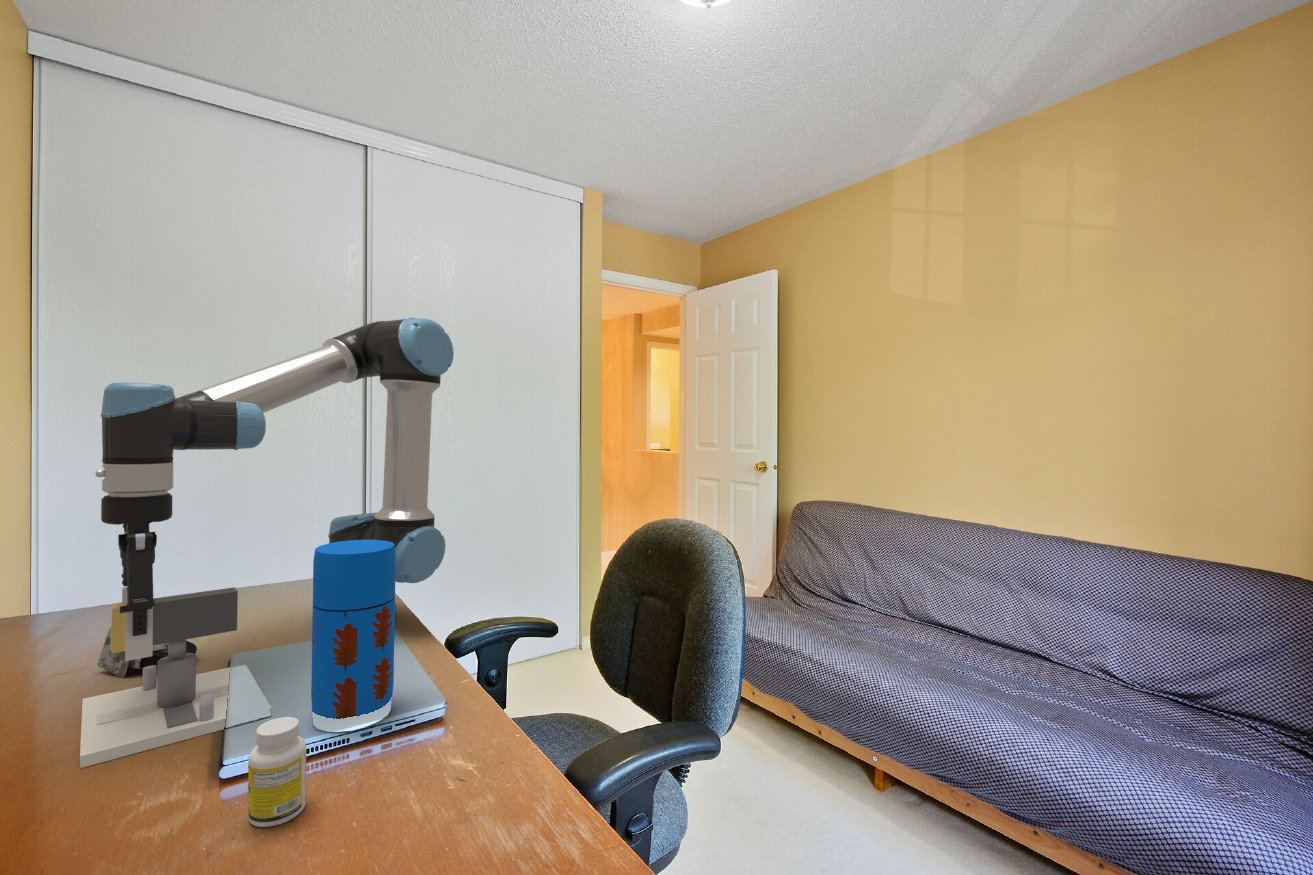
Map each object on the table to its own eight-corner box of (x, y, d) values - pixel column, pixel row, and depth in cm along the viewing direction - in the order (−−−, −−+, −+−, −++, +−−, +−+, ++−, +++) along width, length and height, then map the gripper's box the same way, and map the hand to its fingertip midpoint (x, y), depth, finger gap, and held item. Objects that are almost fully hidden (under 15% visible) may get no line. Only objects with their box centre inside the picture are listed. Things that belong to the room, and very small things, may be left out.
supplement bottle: (265, 797, 68) (266, 713, 68) (315, 796, 68) (316, 712, 68) (236, 830, 62) (237, 738, 62) (290, 828, 63) (291, 737, 63)
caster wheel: (200, 675, 105) (138, 690, 95) (156, 653, 108) (92, 666, 99) (212, 638, 105) (152, 649, 96) (168, 617, 109) (106, 626, 99)
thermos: (408, 705, 91) (411, 543, 90) (351, 739, 80) (354, 557, 80) (353, 693, 94) (356, 537, 94) (292, 724, 84) (295, 549, 84)
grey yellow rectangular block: (233, 641, 92) (234, 586, 92) (236, 647, 90) (237, 590, 90) (110, 665, 83) (111, 603, 82) (111, 671, 80) (111, 608, 80)
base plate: (245, 672, 101) (246, 625, 101) (271, 716, 86) (272, 661, 86) (82, 708, 87) (82, 654, 87) (79, 768, 72) (80, 703, 72)
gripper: (100, 486, 89) (99, 625, 90) (102, 505, 71) (100, 679, 72) (165, 484, 94) (163, 615, 95) (181, 501, 76) (179, 663, 77)
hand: (136, 643), depth 83 cm, fingers open, 13 cm apart
